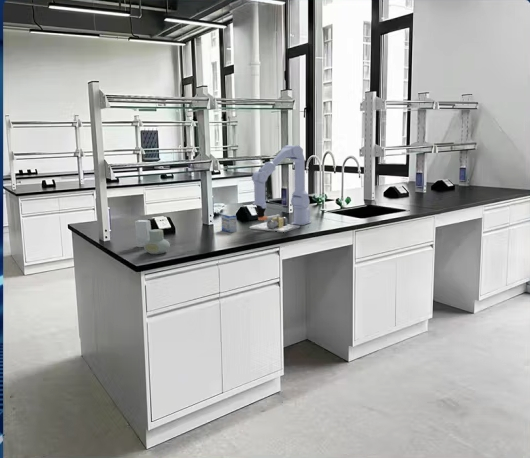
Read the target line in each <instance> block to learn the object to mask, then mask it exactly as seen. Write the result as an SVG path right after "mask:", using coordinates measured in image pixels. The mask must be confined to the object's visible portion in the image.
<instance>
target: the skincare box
mask: <svg viewBox="0 0 530 458" xmlns="http://www.w3.org/2000/svg"><path fill="white" fill-rule="evenodd" d="M151 224H152V223H151V220H147V219H138V220H135V221H134V227H135V237H136V247H138V248H144V245H145V243H146V242H147V241H149V240H150V237H149V231H150V230H152V225H151Z"/></svg>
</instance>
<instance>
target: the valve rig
mask: <svg viewBox="0 0 530 458" xmlns="http://www.w3.org/2000/svg"><path fill="white" fill-rule="evenodd" d="M300 227H301V225H298V224H291V223H290V224H289V220H288V218H287V217H286V216H282V217H281V216H280V217H274V218H271V220H268V221H266V222H261V223H257V224H254V225H250V226H249V229H251V230H252V229H253V230H258V231H269V232H275V231H277V232H276V233H283V232H284V233H286V232H290V231H293V230H296V229H300Z"/></svg>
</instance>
